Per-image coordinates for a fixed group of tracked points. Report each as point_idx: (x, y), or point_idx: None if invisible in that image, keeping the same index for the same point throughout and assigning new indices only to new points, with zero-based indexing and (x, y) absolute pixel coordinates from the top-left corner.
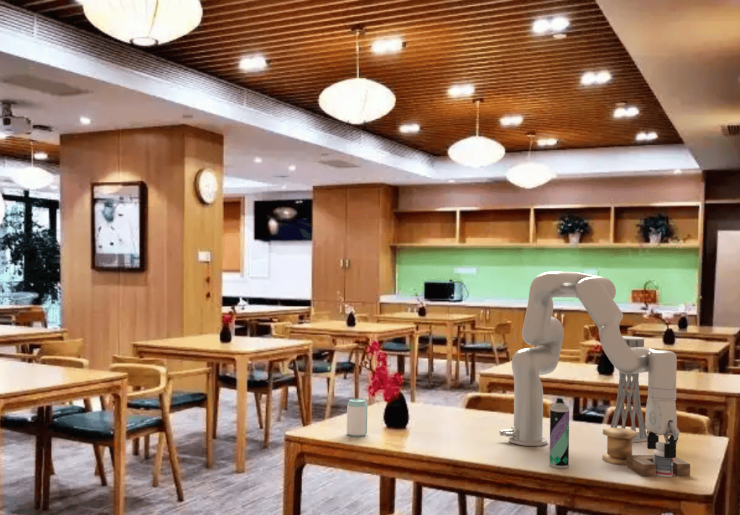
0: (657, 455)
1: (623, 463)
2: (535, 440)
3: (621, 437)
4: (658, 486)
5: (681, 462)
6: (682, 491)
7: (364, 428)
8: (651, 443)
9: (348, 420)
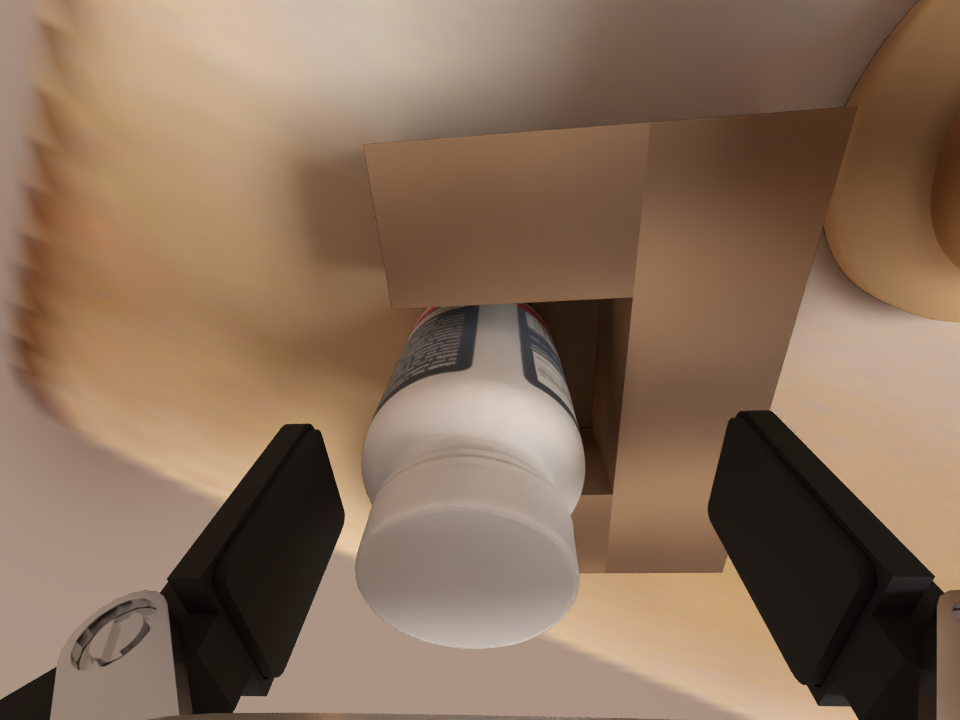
0: (410, 384)
1: (858, 105)
2: None
3: None
4: (114, 164)
5: None
6: (51, 305)
7: None
8: (764, 496)
9: None
